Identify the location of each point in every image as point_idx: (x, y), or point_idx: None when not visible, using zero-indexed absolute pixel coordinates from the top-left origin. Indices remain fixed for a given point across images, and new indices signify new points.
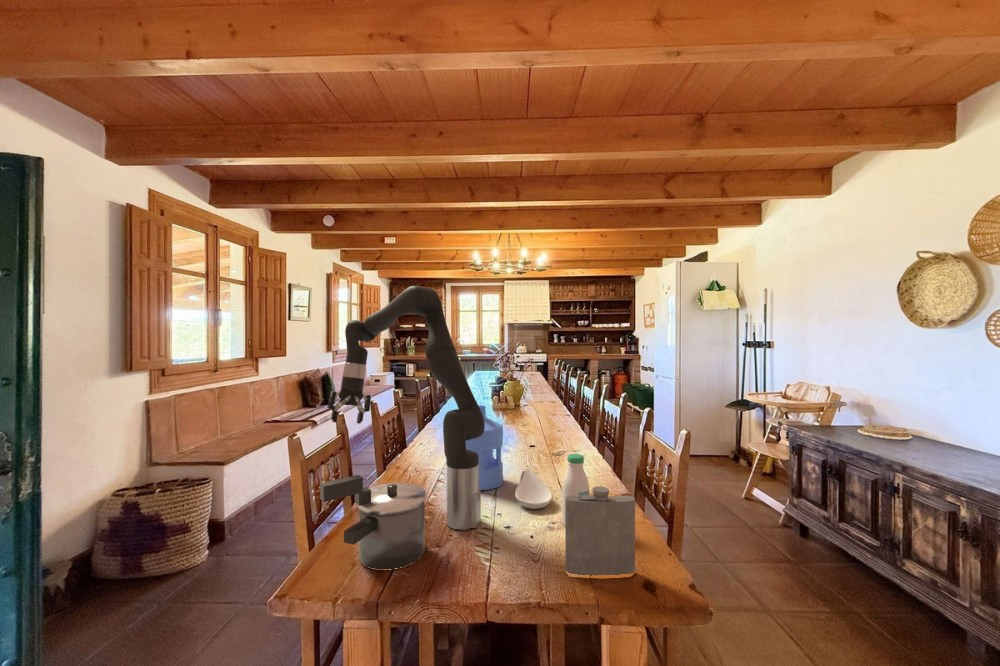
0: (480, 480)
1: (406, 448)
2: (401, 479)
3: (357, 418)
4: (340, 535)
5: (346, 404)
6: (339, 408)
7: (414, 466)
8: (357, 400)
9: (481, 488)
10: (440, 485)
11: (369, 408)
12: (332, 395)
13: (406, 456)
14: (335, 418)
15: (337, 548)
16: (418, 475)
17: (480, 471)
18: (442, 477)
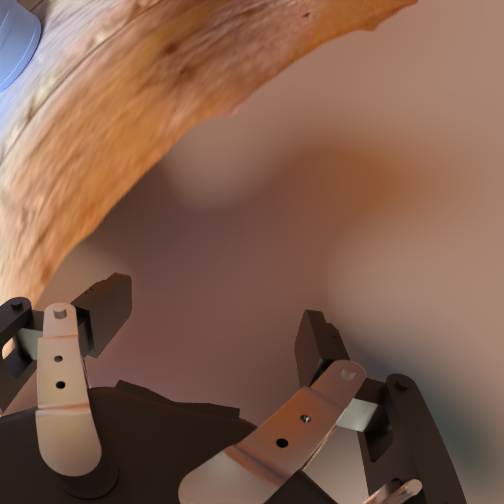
0: (29, 12)
1: None
2: (74, 183)
3: (117, 326)
4: (338, 27)
5: (235, 415)
6: (319, 379)
7: (18, 250)
8: (64, 406)
9: (36, 16)
10: (47, 84)
11: (2, 307)
12: (456, 480)
13: None
14: (323, 323)
15: (356, 7)
16: (36, 181)
17: (20, 4)
18: (15, 130)
